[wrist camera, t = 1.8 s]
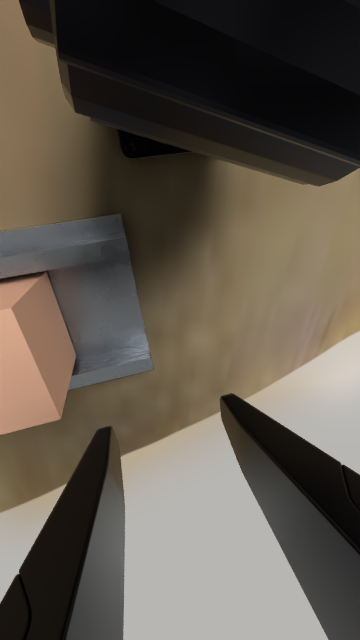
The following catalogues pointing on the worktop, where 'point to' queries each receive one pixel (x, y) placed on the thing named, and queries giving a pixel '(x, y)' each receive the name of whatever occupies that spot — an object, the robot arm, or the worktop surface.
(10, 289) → the block
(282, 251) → the worktop surface
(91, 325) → the chute
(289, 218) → the worktop surface
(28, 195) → the worktop surface
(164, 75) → the robot arm
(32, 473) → the worktop surface
